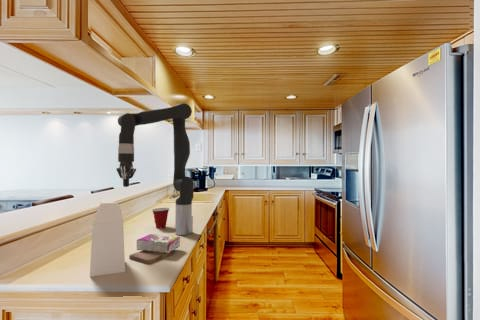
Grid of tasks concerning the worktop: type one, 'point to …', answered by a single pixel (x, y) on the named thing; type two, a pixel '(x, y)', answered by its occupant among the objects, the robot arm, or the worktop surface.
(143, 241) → the candy bar box
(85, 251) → the worktop surface
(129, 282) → the worktop surface
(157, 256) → the board
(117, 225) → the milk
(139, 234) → the worktop surface
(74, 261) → the worktop surface
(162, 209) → the plastic cup
